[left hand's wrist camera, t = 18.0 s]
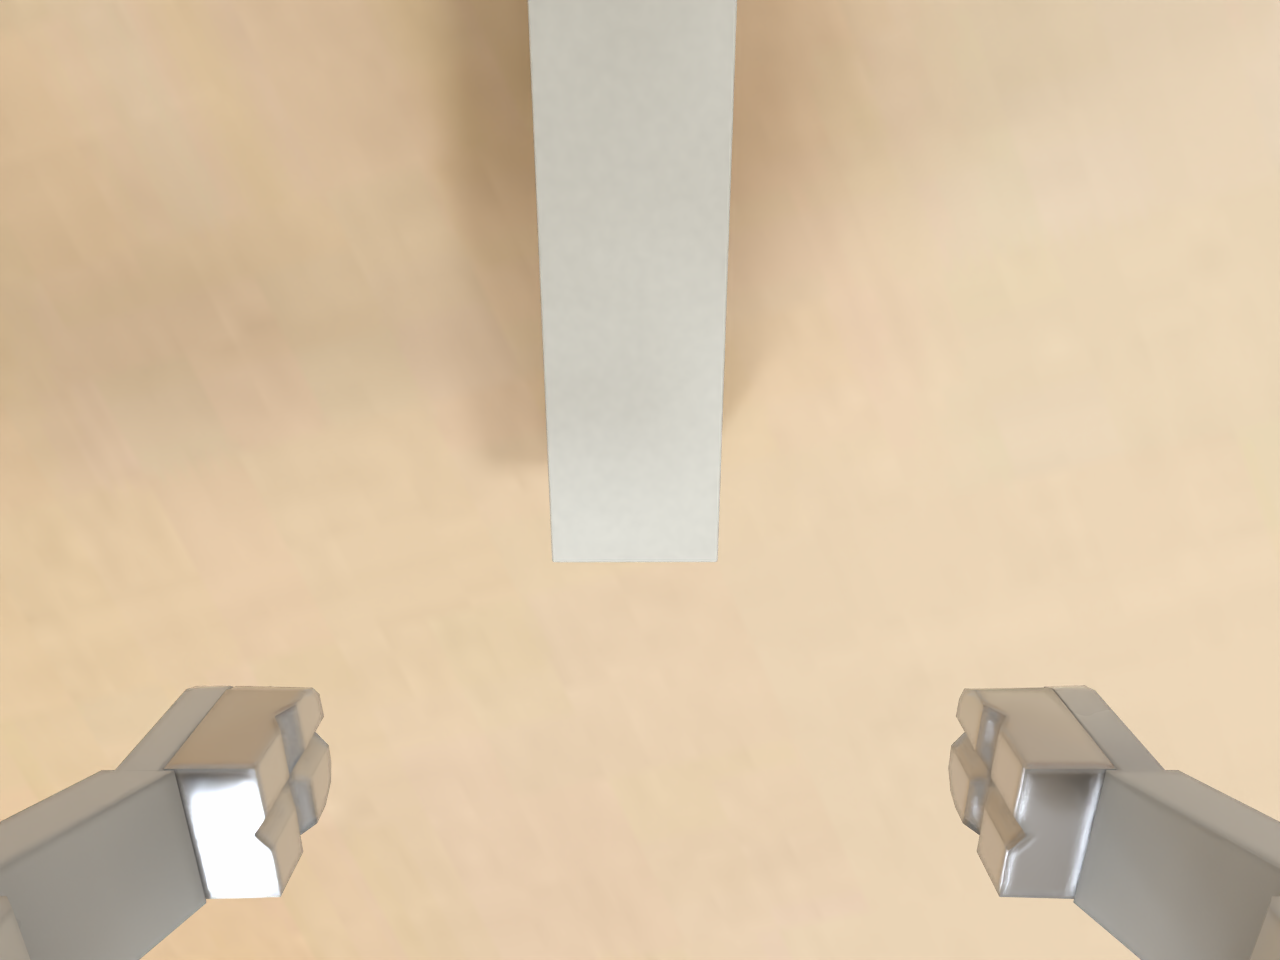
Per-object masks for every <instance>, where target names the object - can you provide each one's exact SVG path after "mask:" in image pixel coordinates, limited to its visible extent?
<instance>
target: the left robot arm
mask: <svg viewBox="0 0 1280 960" xmlns="http://www.w3.org/2000/svg"><path fill="white" fill-rule="evenodd" d="M323 717H324V714H323V709H322V704H321V700H320V695H319V693H318V692H317V691H315V690H314V689H313V688H304V687H257V686H235V687H232V686H195V687H192V688H189V689H186V690H185V691H184V692H183V693H182V695H181V696H180V697H179V698H178V699H177V700H176V701H175V702H174V704H173V705H172V706H171V707H170V708H169V709H168V710H167V712H166V713H165V714H164V715H163V716H162V717H161V718H160V719H159V721H158V722H157V723H156V724H155V725H154V726H153V727H152V729H151V730H150V731H149V732H148V733H147V734H146V735H145V737H144V738H143V739H142V740H141V741H140V742H139V743H138V744H137V746H136V747H135V748H134V749H133V750H132V751H131V752H130V754H129V755H128V756H127V757H126V758H125V759H124V760H123V761H122V763H121V764H120V765H119V766H118V767H117V768H116V769H115V770H101V771H99V772H97V773H96V774H94V775H92V776H90V777H88V778H86V779H84V780H82V781H80V782H78V783H76V784H74V785H72V786H70V787H68V788H66V789H64V790H62V791H60V792H58V793H56V794H54V795H52V796H50V797H48V798H46V799H44V800H42V801H40V802H38V803H36V804H34V805H32V806H30V807H28V808H26V809H25V810H23V811H21V812H19V813H17V814H15V815H13V816H11V817H9V818H7V819H5V820H3V821H1V822H0V960H139V959H141V958H142V957H143V956H144V955H145V954H146V953H148V952H149V951H150V950H151V949H152V948H154V947H155V946H156V945H157V944H158V943H159V942H161V941H162V940H163V939H164V938H165V937H167V936H168V935H169V934H170V933H171V932H172V931H174V930H175V929H176V928H177V927H178V926H180V925H181V924H182V923H183V922H184V921H185V920H187V919H188V918H189V917H190V916H191V915H193V914H194V913H195V912H196V911H197V910H198V909H200V908H201V907H202V906H203V905H204V904H206V899H216V898H250V897H281V895H282V893H283V891H284V889H285V887H286V885H287V883H288V881H289V879H290V877H291V875H292V873H293V871H294V869H295V867H296V865H297V863H298V861H299V859H300V857H301V855H302V853H303V848H302V842H301V836H300V835H301V834H303V833H304V832H305V831H307V830H308V829H310V828H311V827H312V826H314V825H315V824H317V822H318V820H319V818H320V816H321V814H322V812H323V809H324V807H325V805H326V801H327V797H328V792H329V788H330V783H331V758H330V751H329V745H328V744H327V743H326V742H325V741H324V740H323V739H322V738H321V737H320V736H319V735H318V734H317V733H316V732H315V731H316V729H317V728H318V726H319V724H320V722H321V721H322V719H323ZM956 717H957V719H958V721H959V722H960V724H961V726H962V728H963V729H964V731H965V732H964V733H963V734H962V735H961V736H960V737H959V738H958V739H957V740H956V741H955V742H954V743H953V744H952V745H951V752H950V760H949V779H950V790H951V794H952V797H953V801H954V804H955V808H956V810H957V812H958V814H959V816H960V818H961V820H962V822H963V824H965V825H966V826H968V827H969V828H970V829H972V830H973V831H975V832H976V833H977V834H979V835H980V836H979V842H978V848H977V853H978V855H979V857H980V859H981V861H982V863H983V865H984V867H985V869H986V871H987V873H988V875H989V877H990V879H991V881H992V883H993V885H994V887H995V889H996V891H997V893H998V895H999V897H1028V898H1063V899H1074V903H1075V904H1076V905H1077V906H1078V907H1080V908H1081V909H1082V910H1083V911H1084V912H1086V913H1087V914H1088V915H1089V916H1090V917H1091V918H1093V919H1094V920H1095V921H1096V922H1097V923H1098V924H1100V925H1101V926H1102V927H1103V928H1104V929H1106V930H1107V931H1108V932H1109V933H1110V934H1111V935H1113V936H1114V937H1115V938H1116V939H1117V940H1118V941H1120V942H1121V943H1122V944H1123V945H1124V946H1126V947H1127V948H1128V949H1129V950H1130V951H1131V952H1133V953H1134V954H1135V955H1136V956H1137V957H1139V958H1140V959H1141V960H1280V822H1279V821H1277V820H1275V819H1273V818H1271V817H1269V816H1267V815H1265V814H1263V813H1261V812H1259V811H1257V810H1255V809H1253V808H1251V807H1249V806H1247V805H1245V804H1243V803H1241V802H1240V801H1238V800H1236V799H1234V798H1232V797H1230V796H1228V795H1226V794H1224V793H1222V792H1220V791H1218V790H1216V789H1214V788H1212V787H1210V786H1208V785H1206V784H1204V783H1202V782H1200V781H1198V780H1196V779H1194V778H1192V777H1190V776H1188V775H1186V774H1184V773H1183V772H1181V771H1179V770H1165V769H1164V768H1163V767H1162V766H1161V765H1160V764H1159V763H1158V762H1157V760H1156V759H1155V758H1154V757H1153V756H1152V755H1151V754H1150V752H1149V751H1148V750H1147V749H1146V748H1145V747H1144V746H1143V744H1142V743H1141V742H1140V741H1139V740H1138V739H1137V738H1136V737H1135V735H1134V734H1133V733H1132V732H1131V731H1130V730H1129V729H1128V727H1127V726H1126V725H1125V724H1124V723H1123V722H1122V721H1121V720H1120V718H1119V717H1118V716H1117V715H1116V714H1115V713H1114V712H1113V710H1112V709H1111V708H1110V707H1109V706H1108V705H1107V704H1106V702H1105V701H1104V700H1103V699H1102V698H1101V697H1100V696H1099V695H1098V693H1097V692H1096V691H1095V690H1093V689H1091V688H1089V687H1087V686H1085V685H1080V686H1050V687H1044V688H979V689H964V690H963V692H962V694H961V696H960V699H959V703H958V708H957V714H956Z"/></svg>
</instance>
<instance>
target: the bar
mask: <svg viewBox="0 0 1280 960" xmlns="http://www.w3.org/2000/svg"><path fill="white" fill-rule="evenodd" d="M736 17H737V0H528V21H529V43H530V66H531V89H532V111H533V134H534V157H535V180H536V202H537V225H538V248H539V270H540V293H541V316H542V338H543V361H544V384H545V406H546V429H547V452H548V475H549V497H550V520H551V543H552V561H553V562H717V560H718V536H719V507H720V478H721V449H722V421H723V392H724V363H725V334H726V305H727V276H728V247H729V219H730V190H731V161H732V132H733V103H734V74H735V45H736Z"/></svg>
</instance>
